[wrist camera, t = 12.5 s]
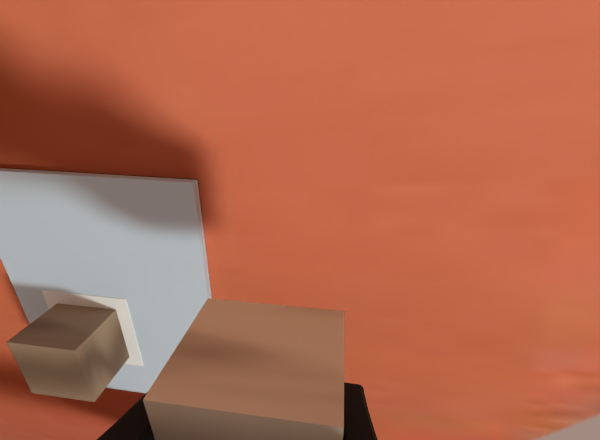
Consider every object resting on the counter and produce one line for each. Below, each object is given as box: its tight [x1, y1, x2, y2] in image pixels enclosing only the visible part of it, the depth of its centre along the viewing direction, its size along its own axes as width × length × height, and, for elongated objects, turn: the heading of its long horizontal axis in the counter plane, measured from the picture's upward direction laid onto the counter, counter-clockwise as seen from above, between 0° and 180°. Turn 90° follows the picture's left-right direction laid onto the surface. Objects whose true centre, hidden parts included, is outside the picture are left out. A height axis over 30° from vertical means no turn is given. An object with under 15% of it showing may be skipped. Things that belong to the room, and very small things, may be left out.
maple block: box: [143, 298, 345, 440], centre depth 10 cm, size 5×5×4 cm
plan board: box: [0, 168, 212, 393], centre depth 24 cm, size 20×16×1 cm
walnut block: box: [7, 303, 129, 402], centre depth 23 cm, size 5×5×4 cm
